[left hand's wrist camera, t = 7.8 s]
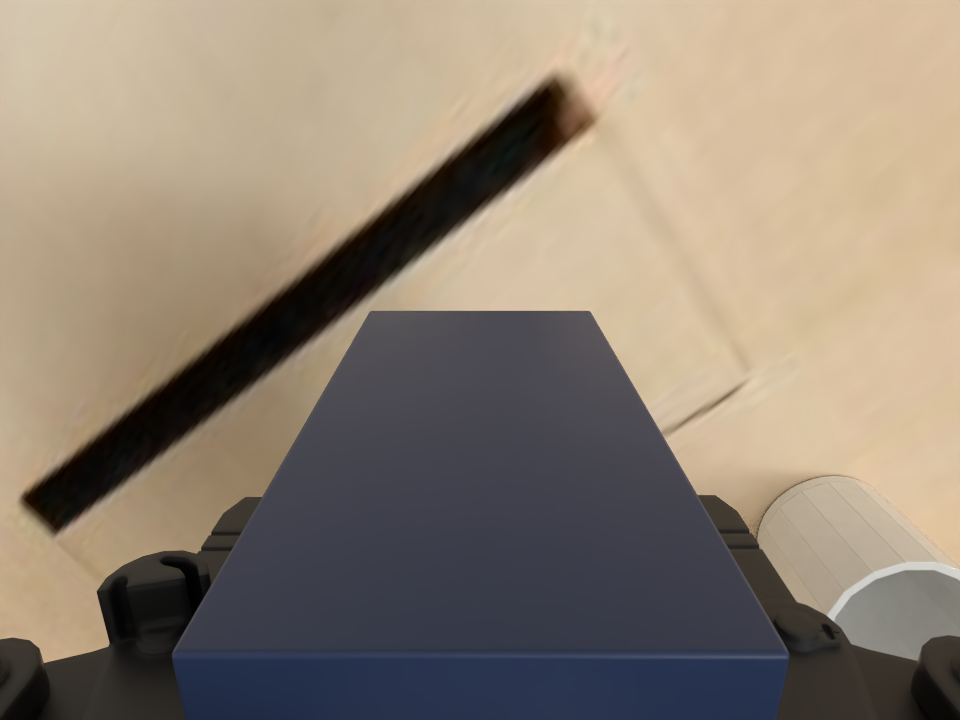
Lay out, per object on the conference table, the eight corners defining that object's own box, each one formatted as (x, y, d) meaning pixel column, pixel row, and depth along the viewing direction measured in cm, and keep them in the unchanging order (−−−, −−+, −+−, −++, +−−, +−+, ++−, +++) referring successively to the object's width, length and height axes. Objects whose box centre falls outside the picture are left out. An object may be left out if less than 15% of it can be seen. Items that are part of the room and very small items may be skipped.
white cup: (767, 475, 31) (838, 562, 25) (900, 475, 31) (1005, 562, 25) (748, 584, 33) (809, 689, 27) (872, 584, 33) (962, 689, 27)
